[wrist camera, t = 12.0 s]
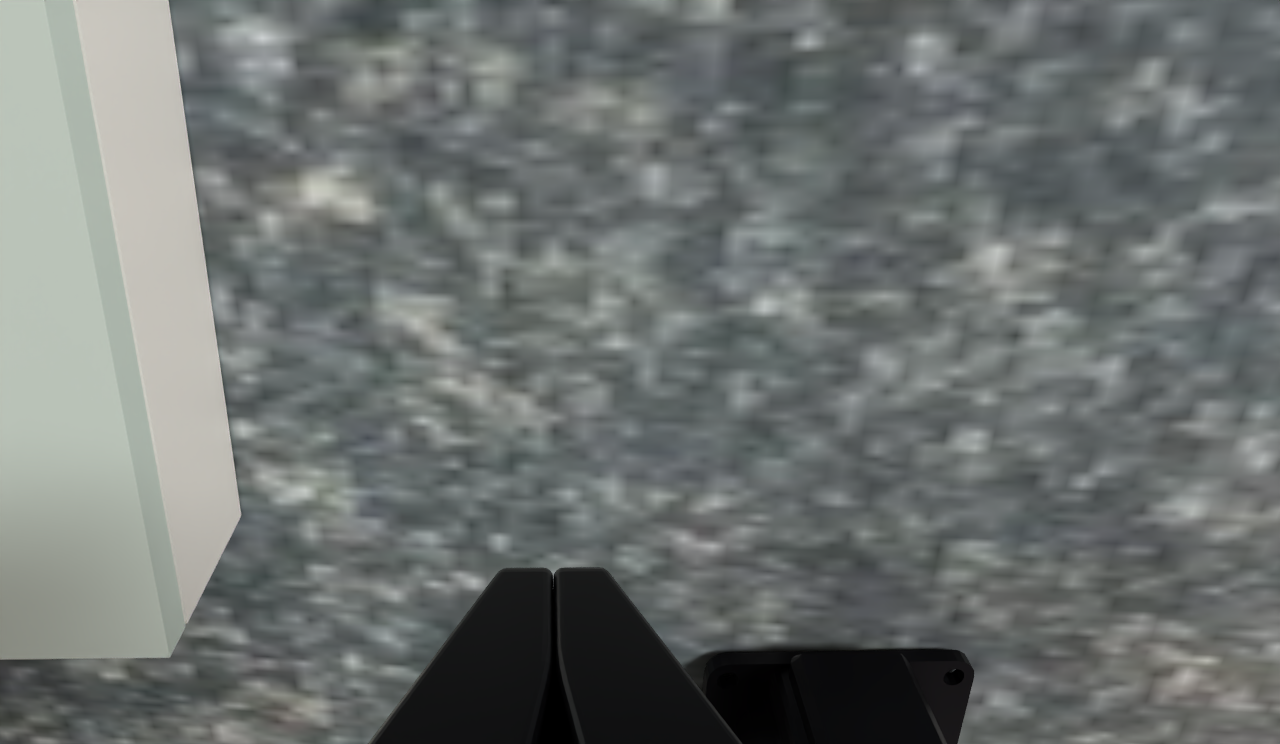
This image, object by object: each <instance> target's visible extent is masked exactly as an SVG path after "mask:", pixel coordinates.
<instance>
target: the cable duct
mask: <svg viewBox="0 0 1280 744" xmlns="http://www.w3.org/2000/svg"><path fill="white" fill-rule="evenodd" d="M73 5H74V11H75V16H76V22H77V27H78V33H79V39H80V44H81V50H82V55H83V61H84V66H85V72H86V77H87V83H88V89H89V94H90V100H91V105H92V111H93V116H94V122H95V127H96V133H97V139H98V144H99V150H100V155H101V161H102V166H103V172H104V177H105V183H106V189H107V194H108V200H109V205H110V211H111V216H112V222H113V228H114V233H115V239H116V244H117V250H118V255H119V261H120V266H121V272H122V278H123V283H124V289H125V294H126V300H127V305H128V311H129V316H130V322H131V328H132V333H133V339H134V344H135V350H136V355H137V361H138V366H139V372H140V378H141V383H142V389H143V394H144V400H145V405H146V411H147V416H148V422H149V428H150V433H151V439H152V444H153V450H154V455H155V461H156V466H157V472H158V478H159V483H160V489H161V494H162V500H163V505H164V511H165V516H166V522H167V528H168V533H169V539H170V544H171V550H172V555H173V561H174V566H175V572H176V578H177V583H178V589H179V594H180V600H181V605H182V611H183V616H184V622H185V624H187V623H188V621H189V619H190V617H191V615H192V613H193V611H194V609H195V607H196V605H197V603H198V601H199V599H200V597H201V595H202V593H203V591H204V589H205V587H206V585H207V583H208V581H209V579H210V577H211V575H212V573H213V571H214V569H215V567H216V565H217V563H218V561H219V559H220V557H221V555H222V553H223V551H224V549H225V547H226V545H227V543H228V541H229V539H230V537H231V535H232V533H233V531H234V529H235V527H236V525H237V523H238V521H239V519H240V517H241V510H240V503H239V496H238V488H237V481H236V474H235V467H234V460H233V453H232V446H231V439H230V432H229V425H228V418H227V411H226V404H225V397H224V389H223V382H222V375H221V368H220V361H219V354H218V347H217V340H216V333H215V326H214V319H213V312H212V305H211V298H210V291H209V283H208V276H207V269H206V262H205V255H204V248H203V241H202V234H201V227H200V220H199V213H198V206H197V199H196V192H195V185H194V177H193V170H192V163H191V156H190V149H189V142H188V135H187V128H186V121H185V114H184V107H183V100H182V93H181V86H180V79H179V71H178V64H177V57H176V50H175V43H174V36H173V29H172V22H171V15H170V8H169V1H168V0H73Z"/></svg>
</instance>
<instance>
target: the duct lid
mask: <svg viewBox="0 0 1280 744" xmlns="http://www.w3.org/2000/svg"><path fill="white" fill-rule="evenodd" d="M184 629H185V622H184V616H183V611H182V605H181V600H180V594H179V589H178V583H177V578H176V572H175V566H174V561H173V555H172V550H171V544H170V539H169V533H168V528H167V522H166V516H165V511H164V505H163V500H162V494H161V489H160V483H159V478H158V472H157V466H156V461H155V455H154V450H153V444H152V439H151V433H150V428H149V422H148V416H147V411H146V405H145V400H144V394H143V389H142V383H141V378H140V372H139V366H138V361H137V355H136V350H135V344H134V339H133V333H132V328H131V322H130V316H129V311H128V305H127V300H126V294H125V289H124V283H123V278H122V272H121V266H120V261H119V255H118V250H117V244H116V239H115V233H114V228H113V222H112V216H111V211H110V205H109V200H108V194H107V189H106V183H105V177H104V172H103V166H102V161H101V155H100V150H99V144H98V139H97V133H96V127H95V122H94V116H93V111H92V105H91V100H90V94H89V89H88V83H87V77H86V72H85V66H84V61H83V55H82V50H81V44H80V39H79V33H78V27H77V22H76V16H75V11H74V5H73V0H0V659H91V658H170V656H171V654H172V653H173V651H174V649H175V647H176V645H177V643H178V641H179V639H180V637H181V635H182V633H183V631H184Z"/></svg>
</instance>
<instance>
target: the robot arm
mask: <svg viewBox="0 0 1280 744" xmlns="http://www.w3.org/2000/svg"><path fill="white" fill-rule="evenodd" d="M953 669H956V670H955V671H953V672H952V673H948V674H946V673H947V672H948V671H950V670H953ZM725 673H733V675H731V676H730V677H725V678H723V677H720V676H721V675H722V674H725ZM973 679H974V670H973V668H972V666H971V664H970V663H969V661H968V659H967V657H966V656H965V654H964V653H962V652H960V651H958V650H891V651H823V652H755V653H724V654H719V655H717V656H715V657H713V658H711V659H710V660H709V662H708V663H707V664H706V667H705V670H704V680H703V690H702V691H701V690H700V689H699V687H698V686H697V685H696V684H695V682H694V681H693V680H692V678H691V677H690V676H689V675H688V673H687V672H686V671H685V669H684V668H683V667H682V666H681V664H680V663H679V662H678V660H677V659H676V658H675V657H674V655H673V654H672V653H671V651H670V650H669V649H668V648H667V646H666V645H665V644H664V642H663V641H662V640H661V639H660V637H659V636H658V635H657V633H656V632H655V631H654V630H653V628H652V627H651V626H650V624H649V623H648V622H647V621H646V619H645V618H644V617H643V615H642V614H641V613H640V612H639V610H638V609H637V608H636V606H635V605H634V604H633V603H632V601H631V600H630V599H629V597H628V596H627V595H626V594H625V592H624V591H623V590H622V588H621V587H620V586H619V585H618V583H617V582H616V581H615V579H614V578H613V577H612V576H611V574H610V573H609V572H608V571H607V570H605V569H604V568H600V567H575V568H560V569H558V570H557V571H556V572H555V574H554V579H553V575H552V573H551V571H550V570H549V569H547V568H504V569H502V570H500V571H499V572H498V573H497V574H496V575H495V577H494V578H493V579H492V581H491V582H490V583H489V585H488V586H487V587H486V589H485V590H484V591H483V593H482V594H481V595H480V597H479V598H478V599H477V601H476V602H475V603H474V604H473V606H472V607H471V608H470V610H469V611H468V612H467V614H466V615H465V616H464V618H463V619H462V620H461V622H460V623H459V624H458V626H457V627H456V628H455V630H454V631H453V632H452V633H451V635H450V636H449V637H448V639H447V640H446V641H445V643H444V644H443V645H442V647H441V648H440V649H439V651H438V652H437V653H436V655H435V656H434V657H433V659H432V660H431V661H430V663H429V664H428V665H427V666H426V668H425V669H424V670H423V672H422V673H421V674H420V676H419V677H418V678H417V680H416V681H415V682H414V684H413V685H412V686H411V688H410V689H409V690H408V692H407V693H406V694H405V696H404V697H403V698H402V699H401V701H400V702H399V703H398V705H397V706H396V707H395V709H394V710H393V711H392V713H391V714H390V715H389V717H388V718H387V719H386V721H385V722H384V723H383V725H382V726H381V727H380V728H379V730H378V731H377V732H376V734H375V735H374V736H373V738H372V739H371V740H370V742H369V743H368V744H957V743H958V739H959V735H960V731H961V727H962V723H963V719H964V715H965V711H966V707H967V703H968V699H969V695H970V691H971V687H972V683H973Z"/></svg>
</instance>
